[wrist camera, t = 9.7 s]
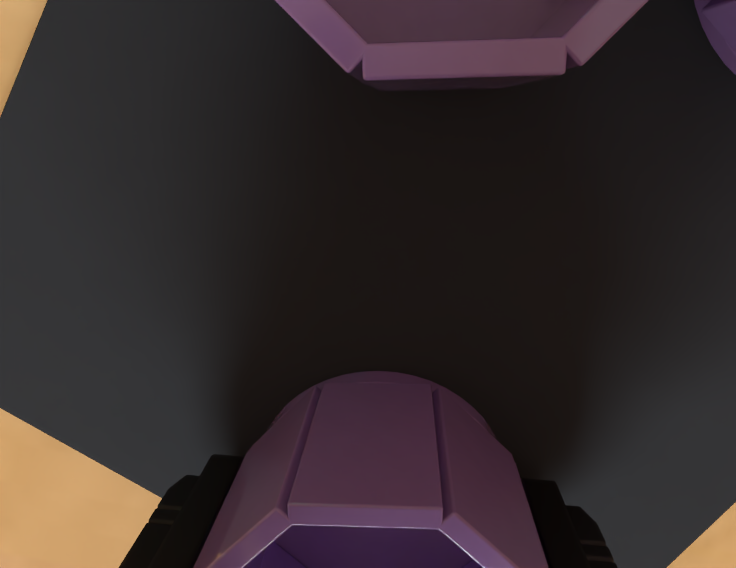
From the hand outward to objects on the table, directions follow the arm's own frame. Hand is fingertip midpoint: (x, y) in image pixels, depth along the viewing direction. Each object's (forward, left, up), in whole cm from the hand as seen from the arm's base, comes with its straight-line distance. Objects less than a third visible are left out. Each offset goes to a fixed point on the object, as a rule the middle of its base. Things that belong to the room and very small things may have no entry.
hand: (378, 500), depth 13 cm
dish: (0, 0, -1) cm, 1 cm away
